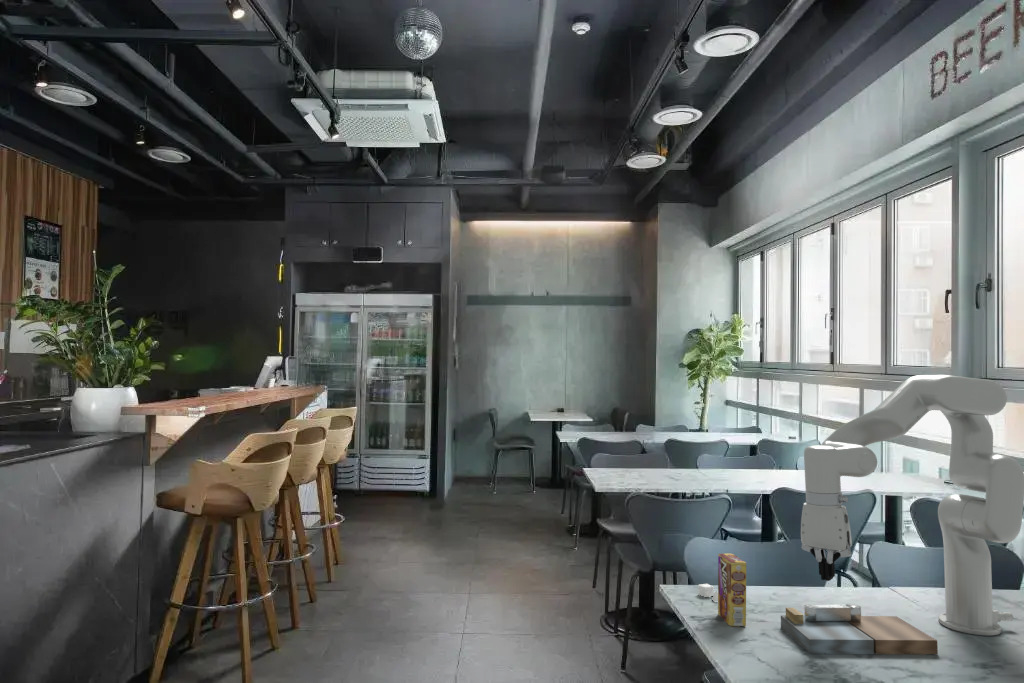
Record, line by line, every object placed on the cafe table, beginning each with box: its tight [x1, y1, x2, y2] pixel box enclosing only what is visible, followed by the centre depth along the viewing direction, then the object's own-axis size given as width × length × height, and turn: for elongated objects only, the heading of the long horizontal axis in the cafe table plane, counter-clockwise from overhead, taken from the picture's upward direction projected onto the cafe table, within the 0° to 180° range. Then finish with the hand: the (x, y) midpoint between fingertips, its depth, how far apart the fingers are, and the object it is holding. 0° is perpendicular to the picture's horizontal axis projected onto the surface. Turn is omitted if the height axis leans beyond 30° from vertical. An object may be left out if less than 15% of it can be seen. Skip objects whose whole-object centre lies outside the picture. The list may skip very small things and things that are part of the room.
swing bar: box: [803, 603, 862, 622], centre depth 155 cm, size 13×3×3 cm, turn 94°
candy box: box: [717, 553, 747, 627], centre depth 164 cm, size 9×4×15 cm, turn 2°
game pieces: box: [697, 583, 718, 601], centre depth 178 cm, size 12×3×3 cm, turn 21°
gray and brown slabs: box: [780, 607, 939, 655], centre depth 151 cm, size 28×15×5 cm, turn 91°
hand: (827, 578), depth 153 cm, fingers closed
